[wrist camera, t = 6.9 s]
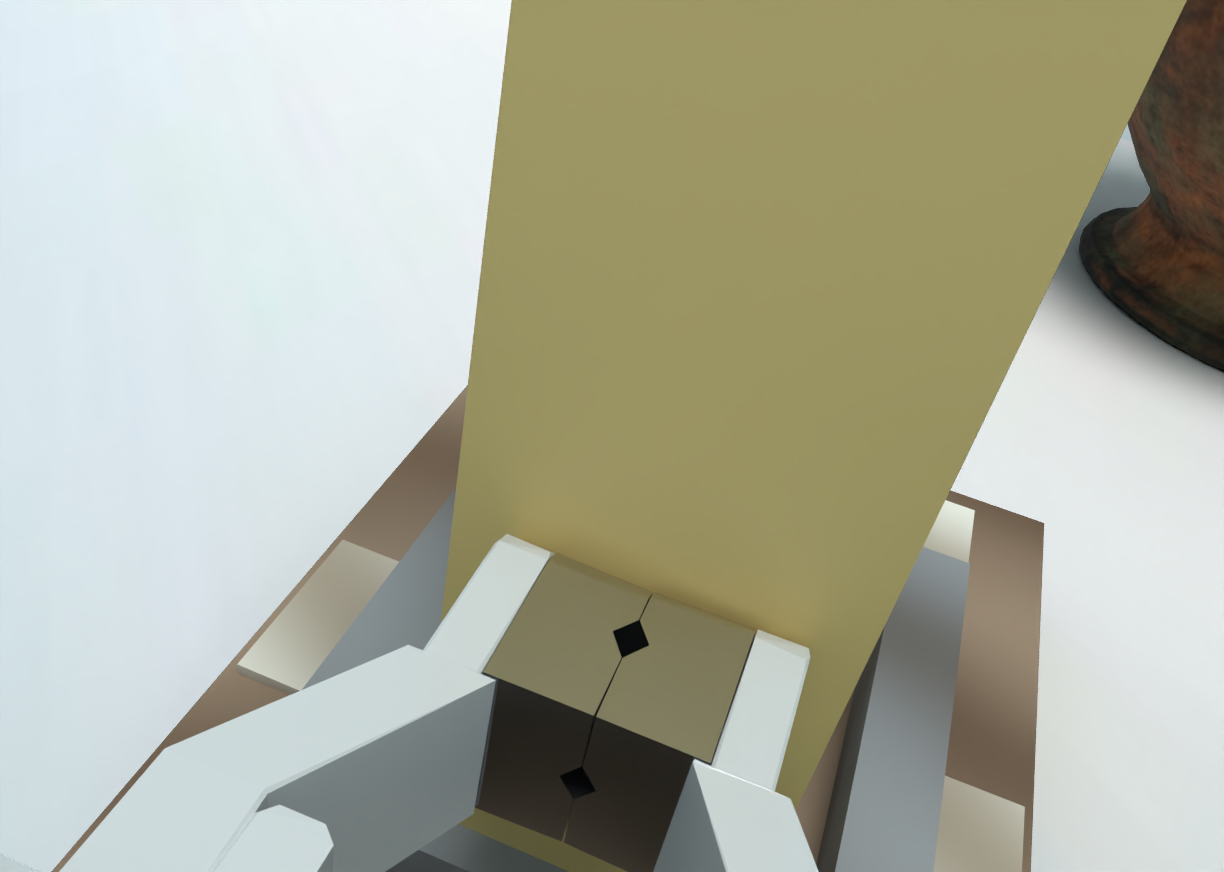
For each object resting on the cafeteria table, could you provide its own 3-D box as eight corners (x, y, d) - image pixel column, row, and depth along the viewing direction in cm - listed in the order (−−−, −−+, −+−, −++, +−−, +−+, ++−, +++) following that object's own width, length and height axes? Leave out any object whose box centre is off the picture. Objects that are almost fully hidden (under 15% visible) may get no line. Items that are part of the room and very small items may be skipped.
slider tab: (707, 1047, 13) (1383, -260, 5) (379, 900, 14) (489, -456, 6) (791, 735, 17) (1248, -289, 9) (531, 632, 18) (729, -403, 10)
